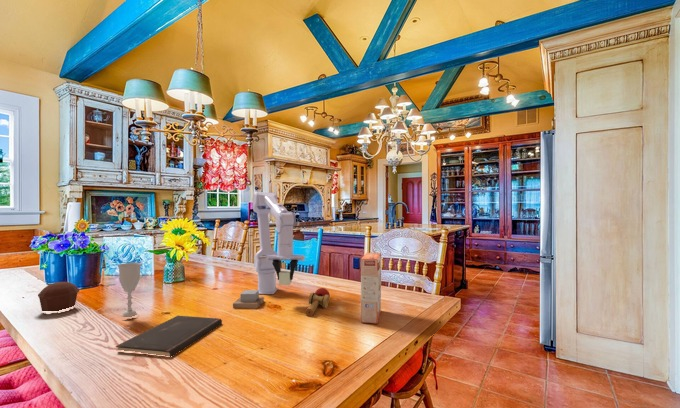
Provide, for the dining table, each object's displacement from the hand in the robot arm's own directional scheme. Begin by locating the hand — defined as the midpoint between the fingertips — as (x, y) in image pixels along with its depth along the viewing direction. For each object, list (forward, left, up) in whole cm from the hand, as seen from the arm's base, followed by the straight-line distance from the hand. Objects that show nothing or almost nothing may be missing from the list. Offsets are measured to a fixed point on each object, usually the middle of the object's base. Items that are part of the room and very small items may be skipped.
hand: (285, 279), depth 120 cm
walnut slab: (0, -14, -10) cm, 18 cm away
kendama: (+4, +13, -10) cm, 17 cm away
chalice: (+15, -50, -10) cm, 53 cm away
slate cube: (0, -14, -8) cm, 16 cm away
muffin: (+8, -81, -10) cm, 82 cm away
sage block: (0, 0, -2) cm, 2 cm away
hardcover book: (+30, -26, -10) cm, 41 cm away
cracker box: (+12, +32, -10) cm, 36 cm away
